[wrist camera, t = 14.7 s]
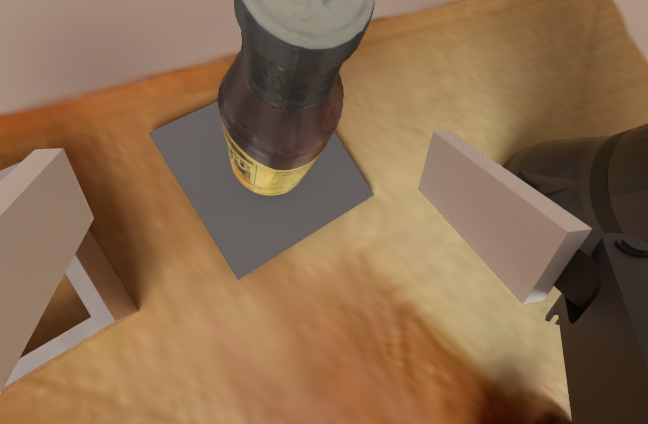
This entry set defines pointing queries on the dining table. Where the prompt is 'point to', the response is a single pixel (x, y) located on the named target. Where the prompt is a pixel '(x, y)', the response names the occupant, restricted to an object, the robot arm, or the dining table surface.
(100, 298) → the grey shallow open box
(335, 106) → the sauce bottle
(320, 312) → the dining table surface
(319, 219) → the rubber mat
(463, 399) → the dining table surface
